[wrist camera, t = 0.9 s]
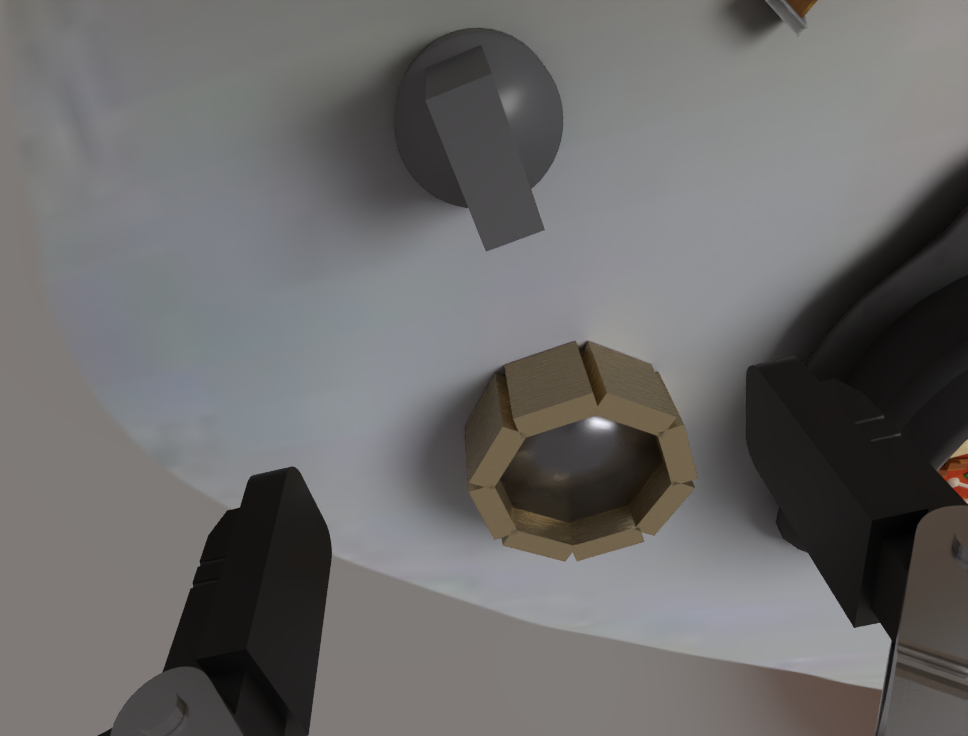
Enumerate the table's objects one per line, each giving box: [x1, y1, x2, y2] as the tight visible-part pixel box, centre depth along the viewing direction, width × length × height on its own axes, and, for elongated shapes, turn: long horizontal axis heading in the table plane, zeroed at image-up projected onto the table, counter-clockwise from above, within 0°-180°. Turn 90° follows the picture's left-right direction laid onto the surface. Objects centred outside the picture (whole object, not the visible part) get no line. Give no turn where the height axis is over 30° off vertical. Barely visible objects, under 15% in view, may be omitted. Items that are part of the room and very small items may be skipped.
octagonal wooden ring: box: [465, 341, 698, 561], centre depth 32 cm, size 10×10×4 cm
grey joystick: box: [394, 28, 563, 251], centre depth 23 cm, size 6×6×6 cm
